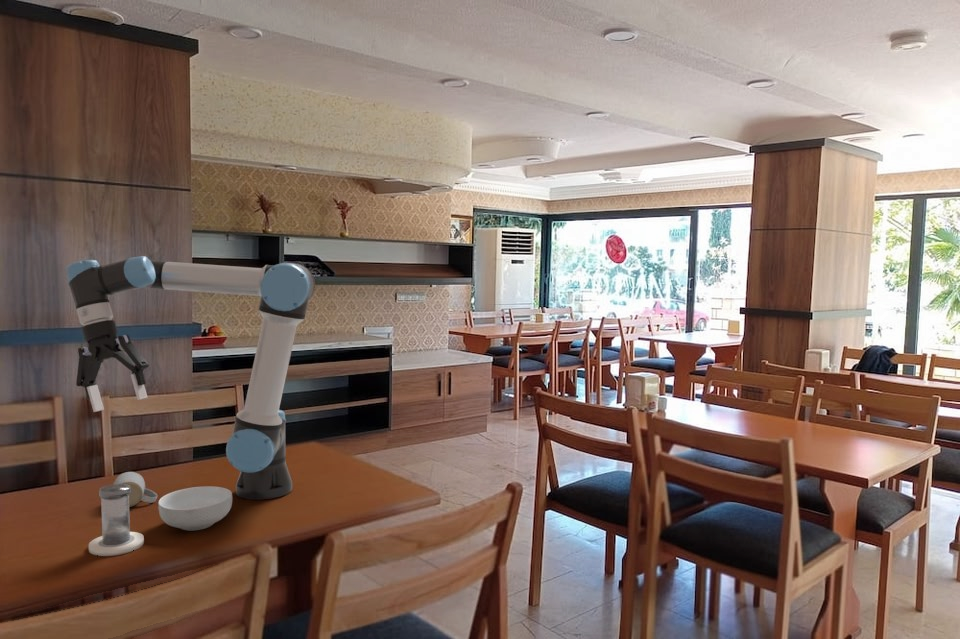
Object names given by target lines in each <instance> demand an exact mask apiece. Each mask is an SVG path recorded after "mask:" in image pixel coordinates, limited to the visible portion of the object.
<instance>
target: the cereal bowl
mask: <svg viewBox="0 0 960 639" xmlns="http://www.w3.org/2000/svg"><path fill="white" fill-rule="evenodd" d="M157 504H158V505H157V506H158V514H159V516H160V519H161V520H162V521H163V522H164V524H166V525H168V526H170V527H173V528H177V529H181V530H183V531H189V532H190V531H201V530H204V529H207V528H210V527H211V526H213V525H214V524H215V523H217V522H220V521H221V520H222V519H224V518H225V517H226V516H227V515H228V514H229V512H230V510H231V509H232V505H233V492H232V491H231V490H230V489H228V488H226V487H222V486H211V485H210V486H208V485H207V486H205V485H204V486H196V487H195V486H194V487H193V486H192V487H188V488H183V489H179V490H175V491H172V492H169V493H167V494H165V495H163V496H162V497H160V499H159V500H158V502H157Z"/></svg>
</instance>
